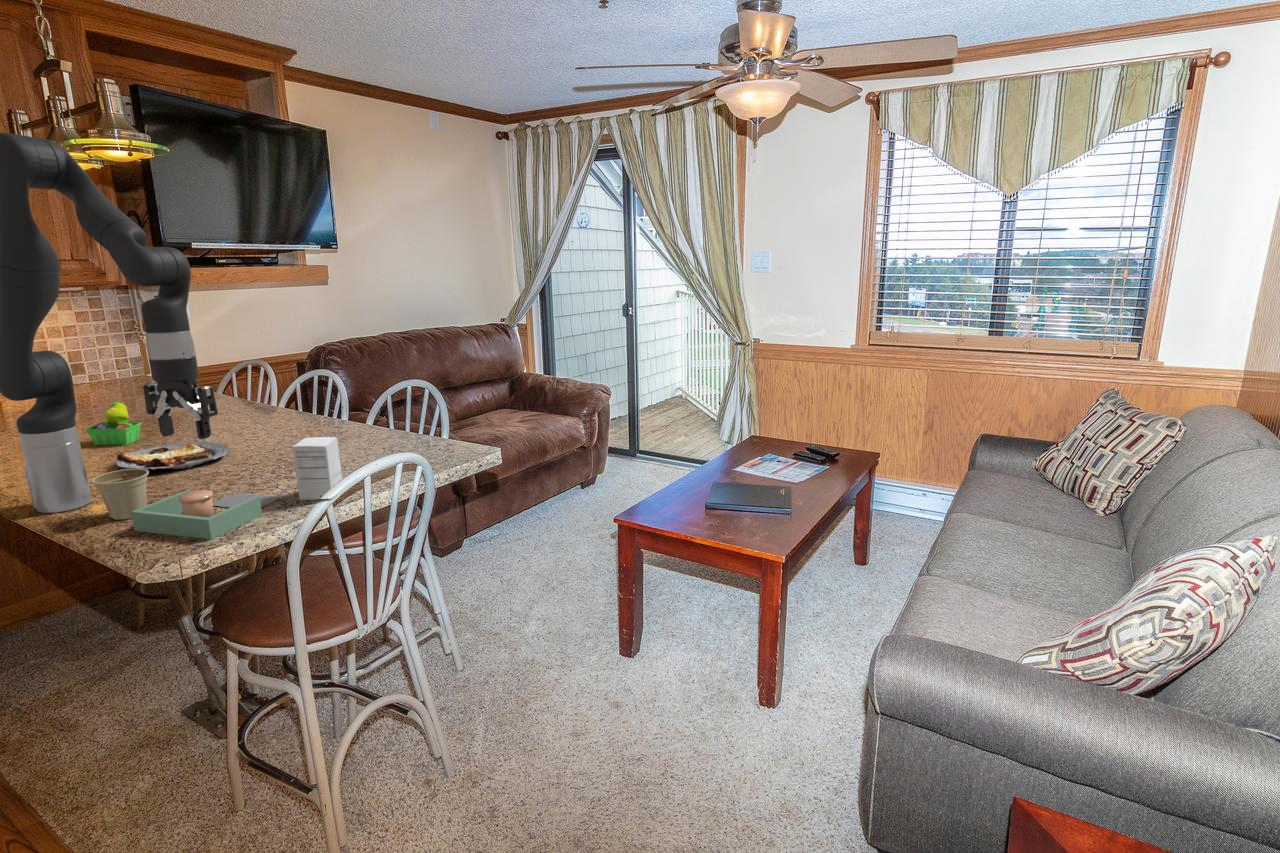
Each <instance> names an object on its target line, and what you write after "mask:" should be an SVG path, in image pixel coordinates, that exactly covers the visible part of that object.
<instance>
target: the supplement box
mask: <svg viewBox="0 0 1280 853" xmlns="http://www.w3.org/2000/svg"><path fill="white" fill-rule="evenodd" d="M338 441H339V440H338V437H336V436H335V437H333V436H329V437H328V436H325V437H324V436H322V437H321V436H319V437H316V436H315V437H303V439H302V440H300V441H298V442H297V443H296V444H294V445H292V454H293V460H294V469H295V476H296V485H297V491H298V498H299V500H301V501H314V500H316V501H317V500H318V499H319V498H321V497H322V496H323V495H324V494H325V493H326V492H327V491H328V490H330V489H331V488H332V487H333V486H334V485H336V484H337V483H338V482H339V481H340V480H342V481H343V476H342V470H341V459H340V451H339V443H338ZM318 501H319V500H318Z"/></svg>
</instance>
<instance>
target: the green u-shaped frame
mask: <svg viewBox="0 0 1280 853" xmlns="http://www.w3.org/2000/svg"><path fill="white" fill-rule="evenodd" d="M191 491H193V490H192V489H186V490H184V491H180V492H178V493H176V494H174V495H171V496H168V497H165V498H163V499H160V500H158V501H155V502H153V503H150V504H148V505H147V506H145V507H142V508H140V509H137V510H134V511H132V512H131V514H132V518H131V519H132V524H133V528H134V531H135V532H140V533H141V532H142V533H143V532H144V533H150V534H151V533H152V534H158V535H159V534H161V535H168V536H169V535H170V536H177V537H186V538H187V537H188V538H196V539H203V540H204V539H205V540H214V539H215V537H216V538H217V536H218V537H220V536H222V535H223V534H225V533H228V532H229V531H232V530H234V529H236V528H239V527H240V526H242V525H244V524H246V523H248V522H250V521H252V520H254V519H257V518H258V517H260V516H262V515H263V511H262V508H261V502H260V497H258V496H255V497H253V498H251V499H248V500H246V501H244V502H242V503H240V504H237V505H235V506H233V507H231V508H225V509H224V510H222V511H220V512H217V513H214V514H215V515H213V516H211V517H208V518H207V517H198V516H188V515H183V513H182V512H183V509H182V504H181V502H180V501H179V496H180V495H182V494H184V493H188V492H191ZM180 513H181V514H180ZM219 535H220V536H219ZM213 538H214V539H213Z"/></svg>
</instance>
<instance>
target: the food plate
mask: <svg viewBox="0 0 1280 853" xmlns="http://www.w3.org/2000/svg"><path fill="white" fill-rule="evenodd" d="M230 449H231V448H230V447H229V445H228V444H225V443H222V442H214V441H189V442H180V443H173V442H172V443H166V444H165V443H164V444H159V445H154V446H151V447H147V448H143V449H140V450H135V451H132V452H129V453H127V452H122V453H119V454H117V456H116V460H114V462H113V463H114V465H115V466H116V467H117V468H120V469H124V470H125V469H146V470H148V471H156V469H161V470H166V469H172V470H179V469H182V470H183V469H190V468H192V467H194V466H199V465H202V464H203V463H206V462H209V461H212V460H216V459H219V458H221V457H224V456H226V455H227V454H228V452H229V450H230ZM210 456H211V457H210Z"/></svg>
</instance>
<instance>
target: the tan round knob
mask: <svg viewBox="0 0 1280 853" xmlns="http://www.w3.org/2000/svg"><path fill="white" fill-rule="evenodd" d="M213 497H214V492H213V490H210V489H199V490H198V489H197V490H192V491H191V492H188V493H184V494H182V495H180V496H179V501H180V502H181V504H182V509H183V513H182V515H188V516H198V517H207V518H208V517H211V516H213V515H215V514H216V513H215V509H214V507H213V503H214V501H213Z"/></svg>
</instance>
